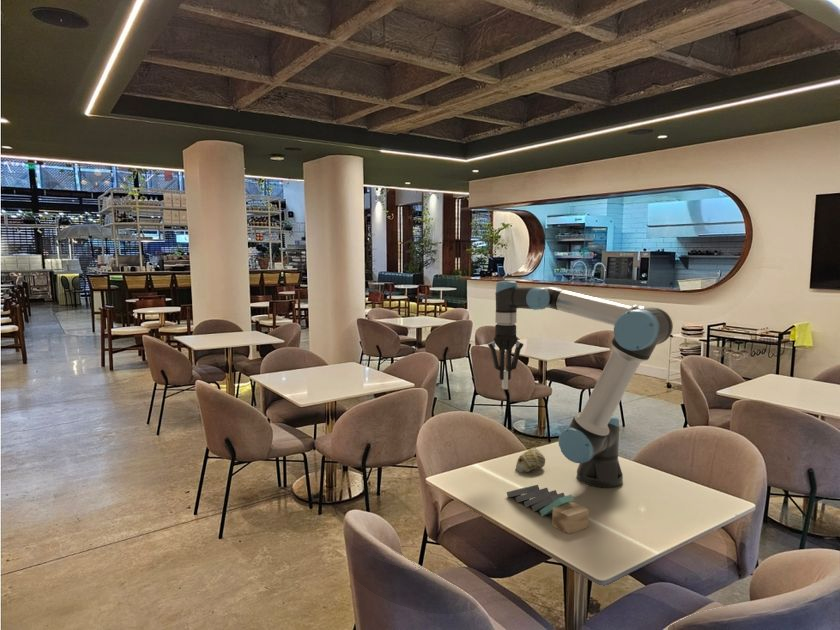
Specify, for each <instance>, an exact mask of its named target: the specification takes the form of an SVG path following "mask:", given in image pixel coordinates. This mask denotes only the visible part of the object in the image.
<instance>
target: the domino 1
mask: <svg viewBox="0 0 840 630" xmlns="http://www.w3.org/2000/svg"><path fill="white" fill-rule="evenodd" d="M537 490H540V487H539V484H535V485H530V486H527V487H520V488H517V489H514V490H510V491H506V495H507V498H512V497H518V496H521V495H524V494H527V493H530V492H533V491H537Z"/></svg>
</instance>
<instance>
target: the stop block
mask: <svg viewBox="0 0 840 630" xmlns="http://www.w3.org/2000/svg"><path fill="white" fill-rule="evenodd" d="M589 513H590V512H589V509H588V508H586V507H584V506H582V505H580V504H578V503H576V502H574V501H571V502H570V503H567V504H564V505H561V506H558V507H555V508H553V513H551V515H552V516H551V517H552V521H551V522H552V523H551V525H552V526H553V527H555V528H557V529H559V530H560V531H562V532H564V533H566V534H568V535H569V534H572V533H574V532H578V531H580V530H583V529H586V528H589V517H590V515H589Z"/></svg>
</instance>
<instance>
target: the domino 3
mask: <svg viewBox="0 0 840 630" xmlns="http://www.w3.org/2000/svg"><path fill="white" fill-rule="evenodd" d="M557 494H558V493H557V490H556V489H555V490H551V491H549V492H547V493H544V494H541V495H539V496H537V497H534V498H531V499H527V500H524V501H523V503H524V506H525V508H528V507H529V508H530V507H531V506H533V505H535V504H537V503H539V502H541V501H543V500H545V499H547V498H548V497H550V496H553V495H557Z"/></svg>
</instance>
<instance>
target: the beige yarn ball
mask: <svg viewBox="0 0 840 630" xmlns="http://www.w3.org/2000/svg"><path fill="white" fill-rule="evenodd" d="M545 464H546V458H545V455H544V454H543V453H542V452H541V451H540V450H539V449H537V447H532V448H530V449H528V450H527V451H525V452H523V453H522V454H521V455H520V456H519V457H518V459H517V461H516V465H515V467H516V468H515V470H516V469H517V470H518V471H517V470H516V471H517V472H519V471H520V473H523V472H525V473H529V472H530V471H531V470H533V469H536V470H538V469H539V470H540V469H542V468H544V466H545Z"/></svg>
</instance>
